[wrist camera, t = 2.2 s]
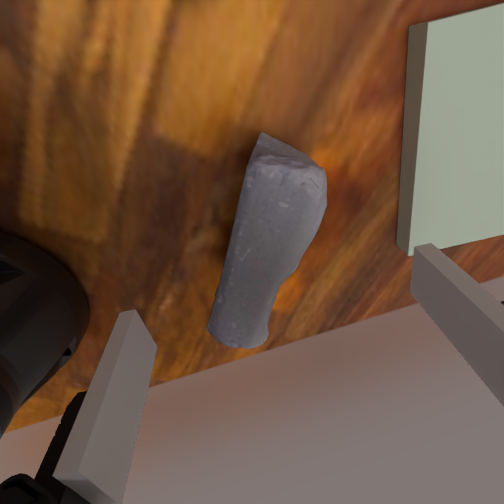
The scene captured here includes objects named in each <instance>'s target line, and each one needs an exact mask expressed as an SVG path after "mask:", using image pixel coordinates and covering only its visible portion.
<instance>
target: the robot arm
mask: <svg viewBox="0 0 504 504" xmlns="http://www.w3.org/2000/svg"><path fill="white" fill-rule="evenodd" d="M410 293H411V294H412V296H413V297H414V298H415V299H416V300H417V302H418V303H419V304H420V305H421V307H422V308H423V309H424V310H425V311H426V313H427V314H428V315H429V316H430V317H431V319H432V320H433V321H434V322H435V324H436V325H437V326H438V327H439V328H440V330H441V331H442V332H443V333H444V334H445V335H446V337H447V338H448V339H449V341H450V342H451V343H452V344H453V345H454V347H455V348H456V349H457V350H458V352H459V353H460V354H461V355H462V356H463V358H464V359H465V360H466V361H467V362H468V364H469V365H470V366H471V367H472V369H473V370H474V371H475V372H476V373H477V374H478V376H479V377H480V378H481V380H482V381H483V382H484V383H485V384H486V386H487V387H488V388H489V389H490V390H491V392H492V393H493V394H494V395H495V397H496V398H497V399H498V400H499V401H500V403H501V404H502V405H503V406H504V301H502V302H500V301H498V300H497V299H496V298H495V297H494V296H493V295H491V294H490V293H489V292H488V291H487V290H485V289H484V288H483V287H482V286H481V285H480V284H479V283H477V282H476V281H475V280H474V279H473V278H472V277H470V276H469V275H468V274H467V273H466V272H465V271H463V270H462V269H461V268H460V267H459V266H458V265H456V264H455V263H454V262H453V261H452V260H451V259H449V258H448V257H447V256H446V255H445V254H444V253H442V252H441V251H440V250H439V249H438V248H437V247H435V246H434V245H433V244H432V243H428V244H424V245H419V246H415V247H414V253H413V264H412V275H411V286H410ZM88 323H89V308H88V303H87V300H86V297H85V295H84V293H83V291H82V289H81V287H80V286H79V284H78V283H77V282H76V280H75V279H74V278H73V276H72V275H71V274H70V273H69V272H68V271H67V270H66V269H65V268H64V267H63V266H62V265H61V264H60V263H58V262H57V261H56V260H55V259H53V258H52V257H51V256H49V255H48V254H46V253H45V252H43V251H42V250H40V249H38V248H37V247H35V246H33V245H31V244H29V243H27V242H25V241H23V240H21V239H19V238H16V237H14V236H11V235H9V234H6V233H3V232H0V438H1V437H2V435H3V433H4V432H5V430H6V428H7V427H8V425H9V423H10V421H11V420H12V418H13V416H14V415H15V413H16V412H17V411H18V409H19V408H20V407H21V406H23V405H24V404H25V403H26V402H27V401H28V400H29V399H30V398H31V397H32V396H33V395H34V394H35V393H36V392H37V391H38V390H39V389H40V388H41V387H42V386H43V385H44V384H45V383H46V382H47V381H48V380H49V379H50V378H51V377H52V376H53V375H54V374H55V373H56V372H57V371H58V370H59V369H60V368H61V367H62V366H64V365H65V363H66V362H67V361H68V360H69V359H70V358H71V357H72V356H73V354H74V353H75V351H76V350H77V348H78V346H79V344H80V342H81V340H82V338H83V336H84V334H85V332H86V330H87V327H88ZM157 348H158V347H157V345H156V344H155V342H154V340H153V339H152V337H151V335H150V333H149V332H148V330H147V328H146V327H145V325H144V323H143V321H142V320H141V318H140V316H139V314H138V313H137V311H136V309H134V310H129V311H125V312H120V313H119V316H118V318H117V321H116V323H115V325H114V328H113V330H112V333H111V335H110V338H109V340H108V342H107V345H106V347H105V350H104V352H103V355H102V357H101V359H100V362H99V364H98V367H97V369H96V372H95V374H94V376H93V379H92V381H91V384H90V386H89V389H88V391H84V392H79V393H77V395H76V396H75V397H74V398H73V400H72V401H71V402H70V404H69V405H68V406H67V408H66V410H65V412H64V415H63V417H62V419H61V424H59V426H58V428H57V430H56V432H55V436H54V437H53V439H52V441H51V443H50V446H49V448H48V450H47V452H46V454H45V457H44V459H43V461H42V463H41V466H40V468H39V470H38V472H37V474H36V477H35V479H33V478H31V477H30V476H28V475H26V474H21V473H20V474H17V475H14V476H11V477H10V478H8V479H7V480H5V481H4V482H2V483H1V484H0V504H122V500H123V497H124V492H125V487H126V483H127V479H128V474H129V470H130V466H131V461H132V457H133V452H134V448H135V444H136V440H137V435H138V431H139V426H140V422H141V418H142V413H143V409H144V405H145V400H146V396H147V391H148V387H149V383H150V378H151V374H152V370H153V365H154V361H155V356H156V352H157Z"/></svg>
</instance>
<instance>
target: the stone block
mask: <svg viewBox="0 0 504 504" xmlns="http://www.w3.org/2000/svg"><path fill="white" fill-rule="evenodd" d="M326 193H327V177H326V173H325V170H324V169H323V168H322V167H319V166H318V165H317V164H316V163H315V162H314V161H313V160H312V159H311V158H309V157H308V156H307V155H306V154H305V153H303V152H301V151H299V150H297V149H295V148H293V147H292V146H291V145H288V144H286V143H284V142H282V141H279V140H277V139H276V138H273V137H271V136H269V135H268V134H265V133H263V132H260V134H259V137H258V140H257V143H256V145H255V147H254V149H253V152H252V155H251V157H250V159H249V162H248V165H247V168H246V172H245V176H244V180H243V185H242V189H241V193H240V197H239V201H238V205H237V210H236V214H235V219H234V223H233V227H232V232H231V236H230V240H229V245H228V249H227V253H226V258H225V261H224V266H223V271H222V274H221V277H220V281H219V285H218V288H217V291H216V294H215V300H214V303H213V306H212V311H211V314H210V317H209V322H208V325H207V331H208V332H209V333H210V334H211V335H213V337H214V338H215V339H216V340H217V341H218V342H220V343H222V344H224V345H226V346H227V347H231V348H233V347H238V348H248V349H252V348H254V347H257V346H260V345H262V344H263V343H264V342H265V340H266V339H267V337H268V334H269V333H268V323H269V317H270V312H271V309H272V307H273V304H274V302H275V298H276V294H277V292H278V288H279V287H280V286H281V284H282V283H283V282H284V281H285V280H286V279H287V278H288V277H289V276H290V275H291V274H292V273H293V272H294V271H295V270H296V269H297V267H298V264H299V262H300V260H301V258H302V255H303V254H304V252H305V251H306V249H307V248H308V246H309V245H310V243H311V242H312V240H313V239H314V237H315V235H316V233H317V231H318V228H319V226H320V223H321V221H322V218H323V215H324V212H325V209H326V207H327V195H326Z"/></svg>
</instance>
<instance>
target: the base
mask: <svg viewBox="0 0 504 504" xmlns="http://www.w3.org/2000/svg"><path fill="white" fill-rule="evenodd" d="M503 234H504V2H502V3H498V4H494V5H490V6H486V7H483V8H479V9H475V10H471V11H467V12H463V13H459V14H455V15H451V16H447V17H444V18H440V19H436V20H432V21H428V22H424V23H420V24H416V25H412V26H409V34H408V51H407V69H406V86H405V103H404V120H403V137H402V155H401V172H400V189H399V206H398V223H397V241H396V244H397V245H398V246H399V247H400V248H401V249H402V250H403V251H404V253H405V254H406V255H407V256H412V255H413V253H414V247H415V246H419V245H424V244H428V243H432V244H433V245H434V246H435V247H437V248H438V249H442V248H446V247H451V246H455V245H459V244H464V243H468V242H472V241H477V240H481V239H485V238H490V237H494V236H498V235H503Z"/></svg>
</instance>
